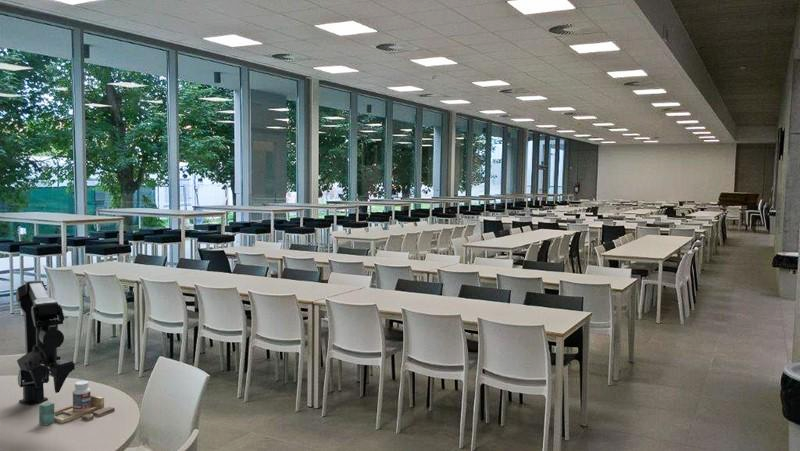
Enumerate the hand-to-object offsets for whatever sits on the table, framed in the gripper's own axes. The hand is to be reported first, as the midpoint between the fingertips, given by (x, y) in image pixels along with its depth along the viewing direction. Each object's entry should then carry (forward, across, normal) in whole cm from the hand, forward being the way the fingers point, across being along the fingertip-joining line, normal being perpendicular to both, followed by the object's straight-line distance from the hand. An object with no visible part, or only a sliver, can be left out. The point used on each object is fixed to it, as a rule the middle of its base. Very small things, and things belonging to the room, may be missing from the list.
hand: (47, 390), depth 198 cm
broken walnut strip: (+10, +8, +12) cm, 18 cm away
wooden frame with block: (+10, 0, +7) cm, 13 cm away
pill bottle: (+10, 0, +12) cm, 16 cm away
